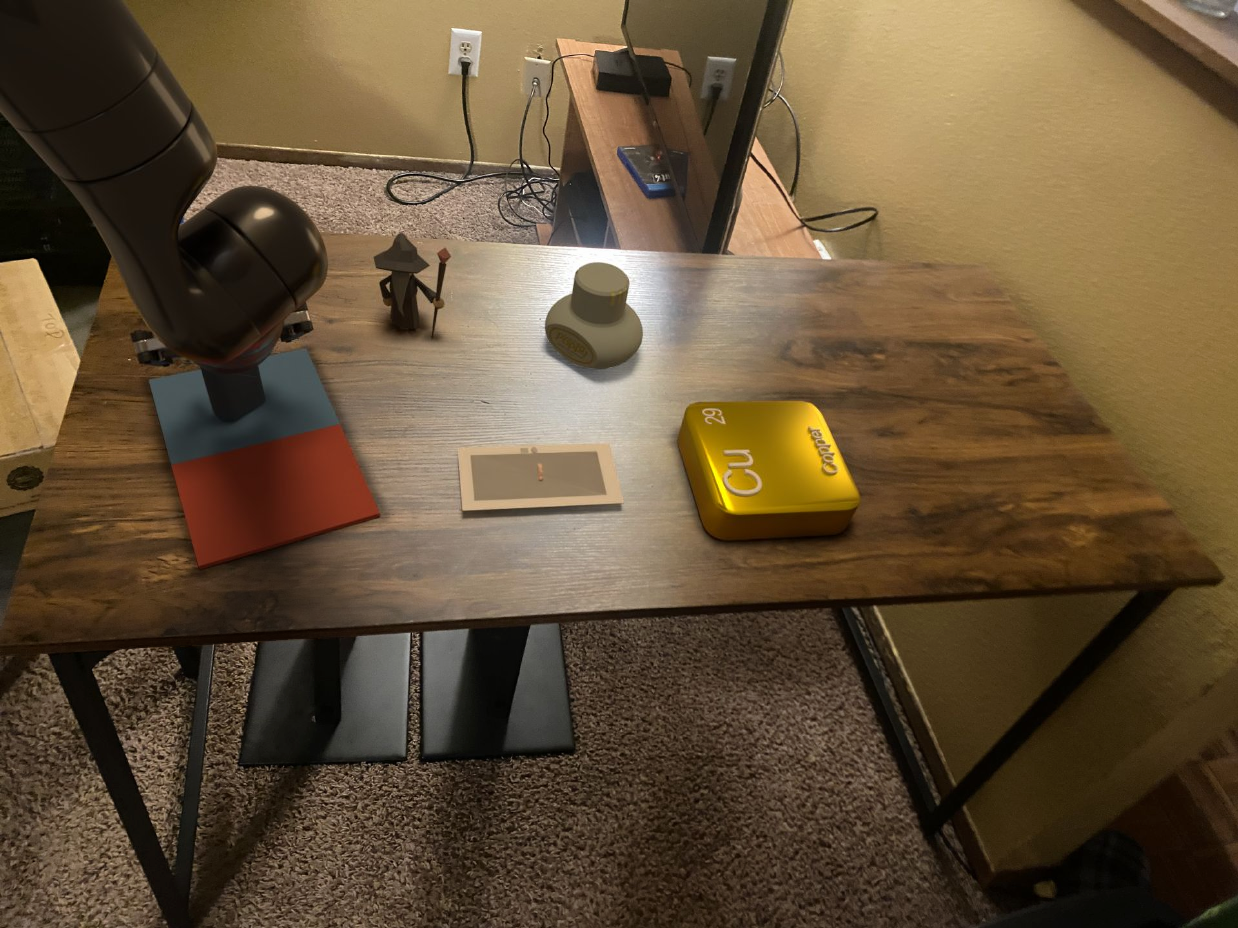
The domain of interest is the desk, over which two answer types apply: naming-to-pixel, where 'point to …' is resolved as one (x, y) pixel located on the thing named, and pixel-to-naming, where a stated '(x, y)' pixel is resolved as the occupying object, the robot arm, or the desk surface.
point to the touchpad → (537, 476)
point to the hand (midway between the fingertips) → (224, 345)
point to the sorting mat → (260, 462)
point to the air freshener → (595, 319)
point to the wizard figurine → (408, 283)
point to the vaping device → (234, 393)
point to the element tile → (765, 470)
